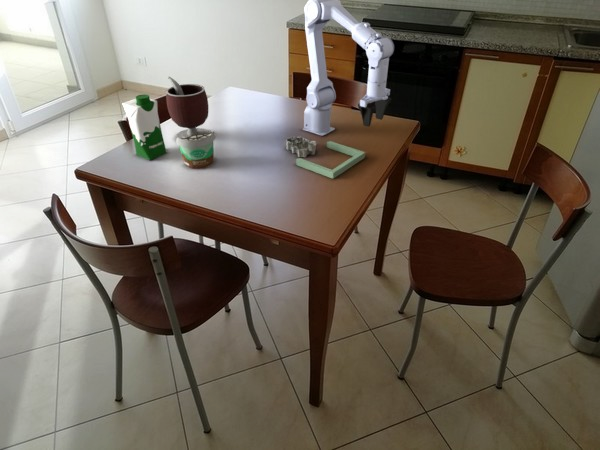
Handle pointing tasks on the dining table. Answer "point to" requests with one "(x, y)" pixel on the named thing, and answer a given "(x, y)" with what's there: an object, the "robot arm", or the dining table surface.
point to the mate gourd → (187, 107)
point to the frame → (339, 169)
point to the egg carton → (301, 146)
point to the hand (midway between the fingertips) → (372, 122)
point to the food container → (197, 150)
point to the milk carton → (145, 127)
